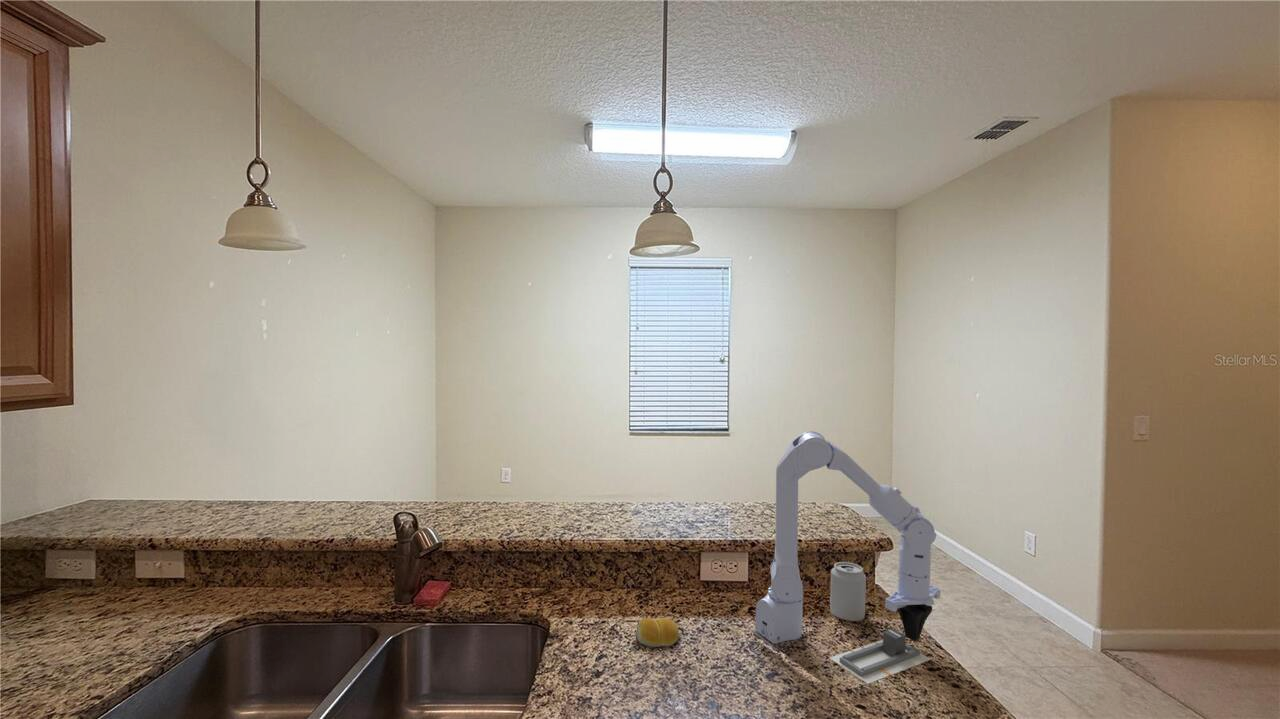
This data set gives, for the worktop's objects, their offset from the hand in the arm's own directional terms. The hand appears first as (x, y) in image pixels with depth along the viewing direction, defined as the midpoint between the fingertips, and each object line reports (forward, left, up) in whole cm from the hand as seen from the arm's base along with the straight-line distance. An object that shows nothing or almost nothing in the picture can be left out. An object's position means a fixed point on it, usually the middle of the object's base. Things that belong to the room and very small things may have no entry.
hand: (912, 638), depth 109 cm
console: (-10, 0, -3) cm, 10 cm away
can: (-1, +16, -3) cm, 16 cm away
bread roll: (-45, +27, -3) cm, 52 cm away
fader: (-6, 0, -2) cm, 6 cm away
